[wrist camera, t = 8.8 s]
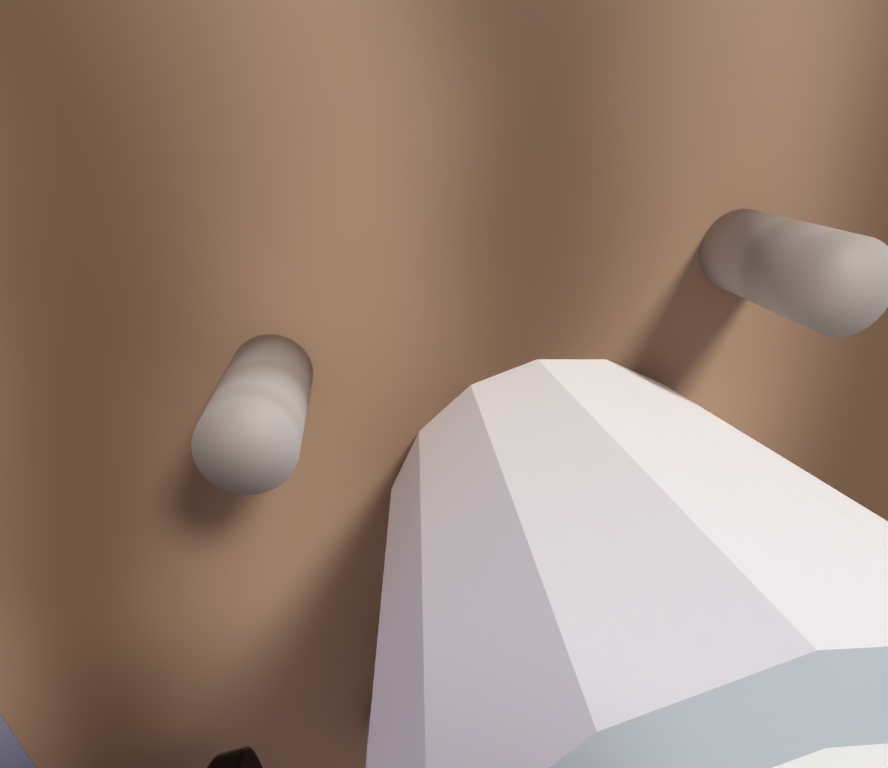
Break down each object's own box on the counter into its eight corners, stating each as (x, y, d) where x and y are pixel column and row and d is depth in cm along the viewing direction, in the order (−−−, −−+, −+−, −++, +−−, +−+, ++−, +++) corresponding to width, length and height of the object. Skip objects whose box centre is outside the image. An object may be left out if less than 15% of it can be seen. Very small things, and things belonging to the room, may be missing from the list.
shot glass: (827, 459, 12) (1400, 873, 5) (577, 722, 13) (782, 1292, 7) (522, 226, 10) (851, 438, 3) (269, 570, 11) (146, 1178, 5)
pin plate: (1135, -367, 9) (1585, -649, 6) (1009, 723, 16) (1169, 871, 13) (-386, 13, 8) (-849, -52, 5) (202, 950, 16) (162, 1161, 13)
